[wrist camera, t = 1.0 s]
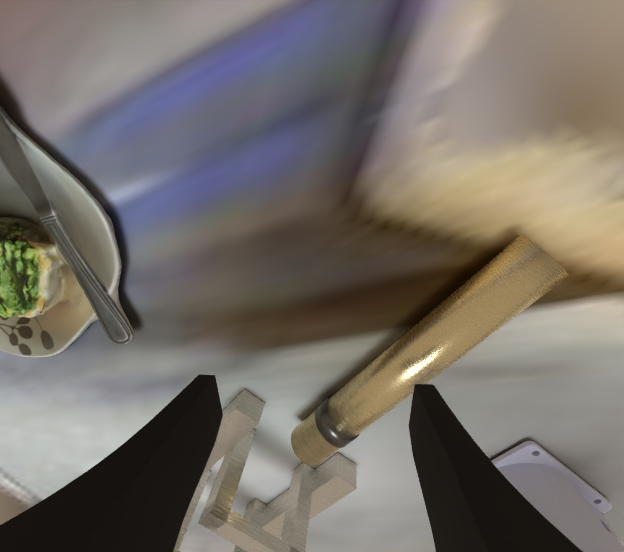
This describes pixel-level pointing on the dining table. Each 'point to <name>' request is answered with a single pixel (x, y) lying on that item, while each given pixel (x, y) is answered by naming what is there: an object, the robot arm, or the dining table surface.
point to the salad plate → (52, 253)
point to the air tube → (430, 347)
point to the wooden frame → (258, 516)
